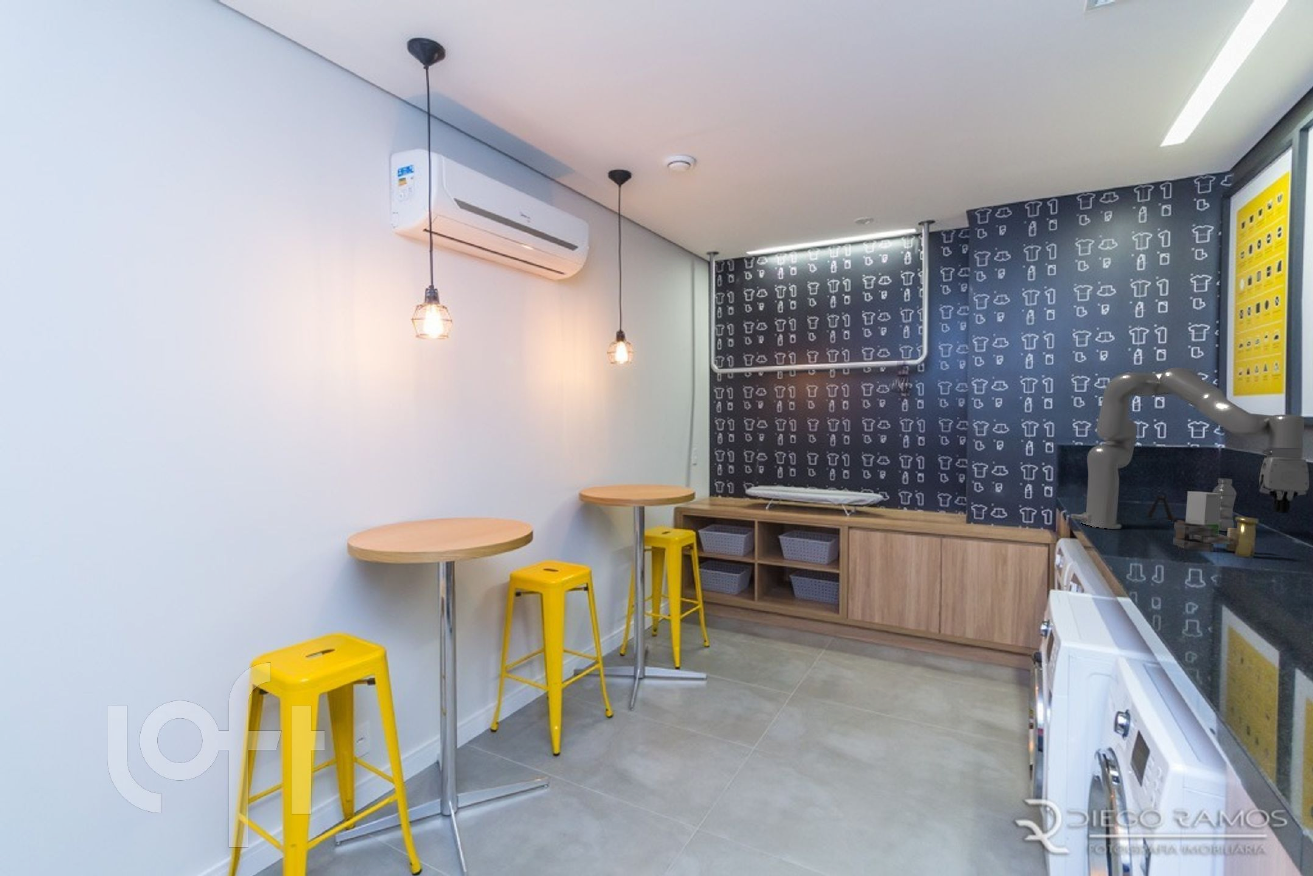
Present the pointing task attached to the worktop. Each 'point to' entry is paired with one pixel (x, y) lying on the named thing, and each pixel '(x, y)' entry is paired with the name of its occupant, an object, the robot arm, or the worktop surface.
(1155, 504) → the black a-shaped stand
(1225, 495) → the plastic bottle
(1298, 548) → the worktop surface
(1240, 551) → the brass hinge pin
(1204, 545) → the slatted wooden box
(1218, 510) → the skincare box
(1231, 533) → the wooden crate
